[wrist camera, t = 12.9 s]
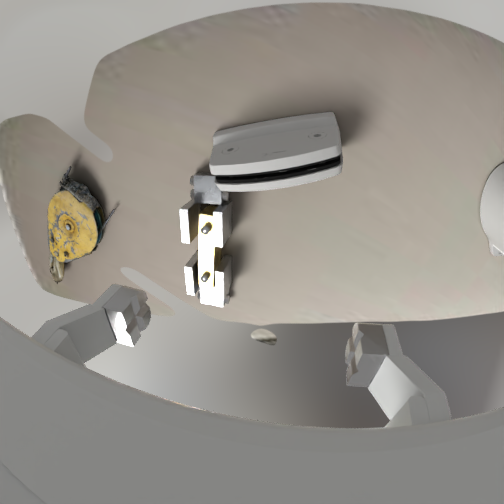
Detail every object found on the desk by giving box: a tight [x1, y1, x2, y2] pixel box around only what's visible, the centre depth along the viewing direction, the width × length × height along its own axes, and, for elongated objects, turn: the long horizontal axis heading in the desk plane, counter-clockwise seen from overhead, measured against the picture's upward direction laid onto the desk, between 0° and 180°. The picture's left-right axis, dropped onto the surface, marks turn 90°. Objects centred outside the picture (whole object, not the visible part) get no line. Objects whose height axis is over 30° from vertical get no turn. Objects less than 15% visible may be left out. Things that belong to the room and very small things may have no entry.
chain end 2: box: [184, 251, 232, 307], centre depth 43 cm, size 6×9×5 cm, turn 178°
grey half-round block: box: [209, 112, 343, 192], centre depth 31 cm, size 17×5×10 cm, turn 102°
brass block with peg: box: [198, 205, 221, 289], centre depth 41 cm, size 2×12×5 cm, turn 174°
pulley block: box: [48, 166, 115, 283], centre depth 46 cm, size 14×6×30 cm
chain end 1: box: [179, 172, 232, 247], centre depth 37 cm, size 6×9×5 cm, turn 178°
